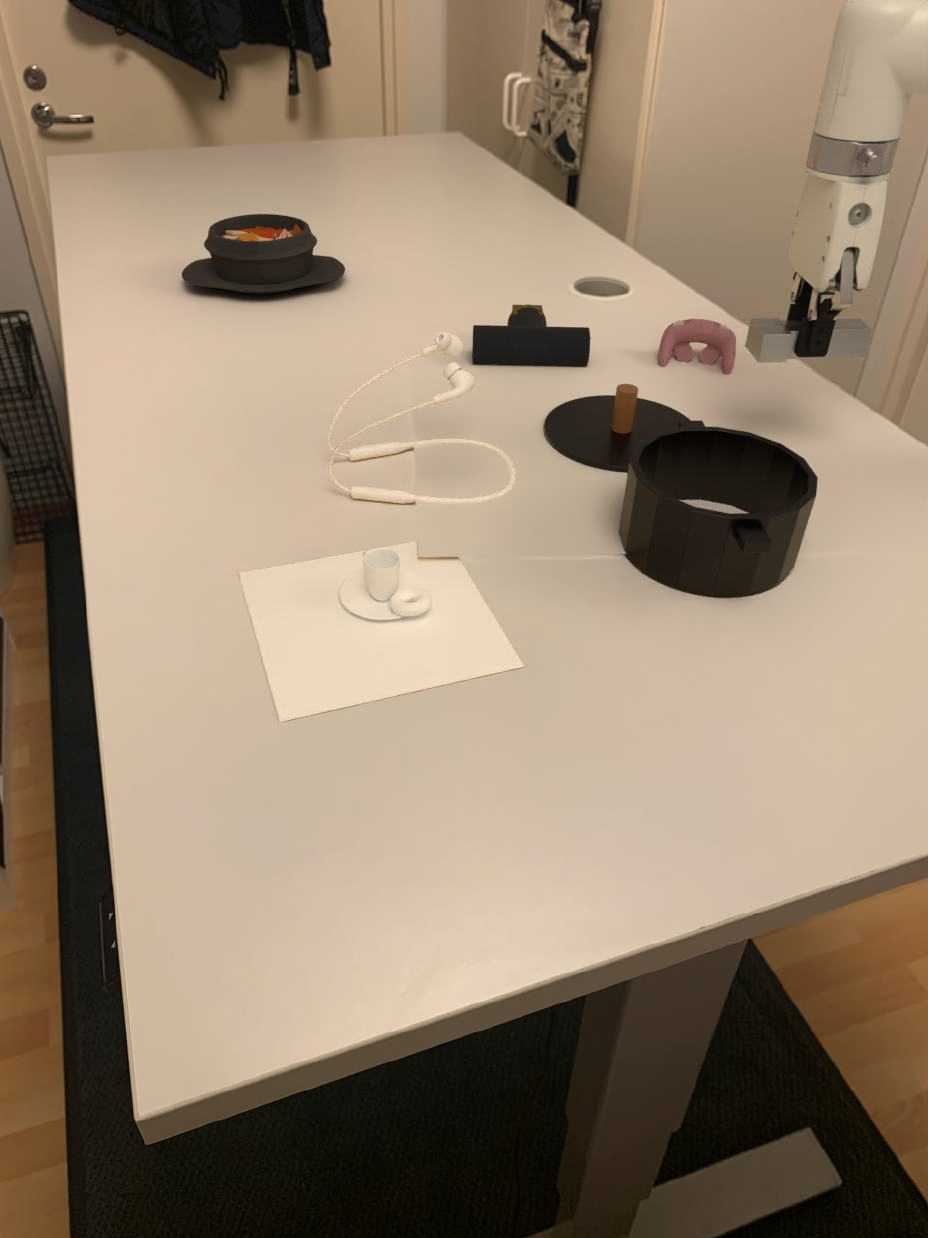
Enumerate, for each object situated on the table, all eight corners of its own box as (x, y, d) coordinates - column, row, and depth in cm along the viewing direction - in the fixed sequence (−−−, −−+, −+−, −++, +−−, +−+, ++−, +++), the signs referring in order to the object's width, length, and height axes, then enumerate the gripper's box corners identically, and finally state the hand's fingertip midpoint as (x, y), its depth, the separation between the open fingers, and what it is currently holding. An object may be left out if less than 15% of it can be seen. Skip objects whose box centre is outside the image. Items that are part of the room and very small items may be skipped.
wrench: (850, 343, 98) (857, 315, 96) (866, 359, 94) (874, 331, 92) (744, 345, 97) (750, 318, 95) (757, 362, 94) (763, 334, 92)
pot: (753, 486, 97) (772, 413, 92) (830, 614, 80) (859, 534, 75) (600, 488, 96) (610, 414, 91) (645, 618, 79) (661, 537, 74)
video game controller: (729, 378, 122) (739, 324, 121) (732, 376, 118) (743, 320, 116) (655, 370, 124) (664, 316, 122) (655, 367, 119) (665, 312, 118)
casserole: (343, 261, 151) (339, 208, 146) (349, 301, 137) (345, 243, 132) (188, 265, 148) (179, 211, 143) (178, 307, 134) (168, 248, 128)
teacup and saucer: (444, 619, 78) (444, 581, 76) (354, 637, 76) (351, 599, 74) (414, 563, 85) (413, 526, 82) (330, 578, 83) (327, 541, 80)
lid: (677, 403, 113) (685, 355, 109) (717, 476, 99) (728, 424, 95) (534, 404, 111) (538, 355, 108) (554, 478, 98) (560, 425, 94)
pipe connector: (472, 298, 124) (582, 301, 124) (471, 336, 127) (578, 338, 128) (473, 333, 115) (591, 335, 116) (472, 372, 119) (586, 374, 119)
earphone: (312, 417, 99) (438, 308, 93) (412, 511, 108) (532, 417, 102) (312, 480, 88) (454, 362, 83) (422, 579, 98) (557, 479, 92)
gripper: (931, 177, 77) (870, 380, 89) (855, 136, 90) (810, 318, 102) (845, 178, 77) (795, 382, 89) (781, 137, 90) (744, 320, 101)
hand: (804, 346), depth 95 cm, fingers closed on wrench, 3 cm apart
